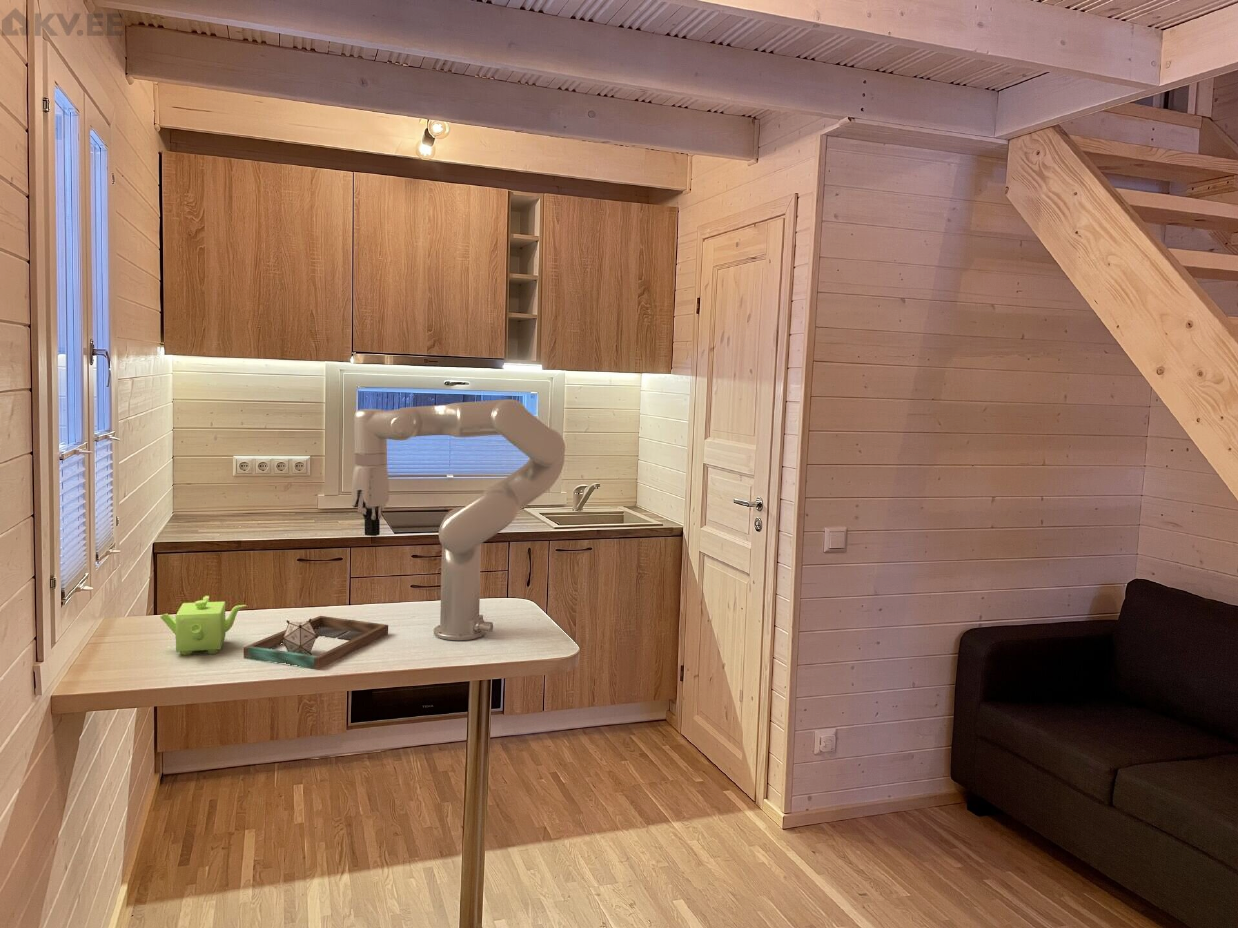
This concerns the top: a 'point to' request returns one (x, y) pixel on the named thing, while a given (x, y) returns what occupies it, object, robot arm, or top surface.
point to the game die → (299, 637)
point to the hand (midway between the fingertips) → (372, 534)
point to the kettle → (200, 625)
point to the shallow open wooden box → (331, 627)
